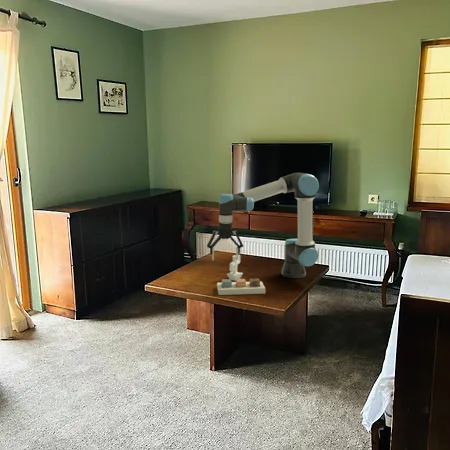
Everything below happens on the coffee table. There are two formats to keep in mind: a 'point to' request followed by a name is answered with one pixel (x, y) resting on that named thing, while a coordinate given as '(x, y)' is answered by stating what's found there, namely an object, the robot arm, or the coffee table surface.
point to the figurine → (234, 269)
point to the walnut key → (254, 282)
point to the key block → (240, 289)
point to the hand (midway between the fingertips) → (224, 259)
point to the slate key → (226, 283)
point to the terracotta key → (240, 283)
